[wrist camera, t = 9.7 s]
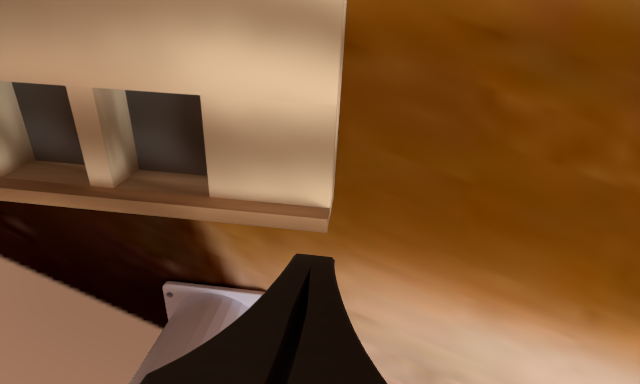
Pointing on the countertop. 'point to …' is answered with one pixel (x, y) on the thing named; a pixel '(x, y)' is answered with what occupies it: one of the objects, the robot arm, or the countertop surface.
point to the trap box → (173, 107)
